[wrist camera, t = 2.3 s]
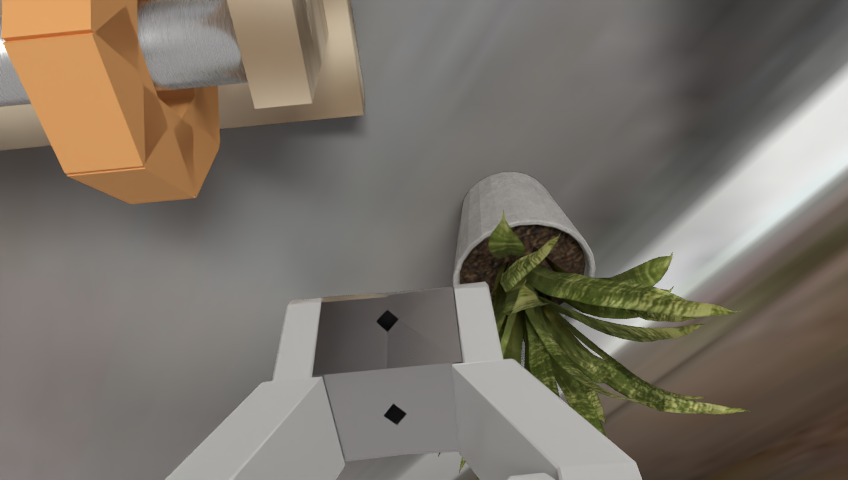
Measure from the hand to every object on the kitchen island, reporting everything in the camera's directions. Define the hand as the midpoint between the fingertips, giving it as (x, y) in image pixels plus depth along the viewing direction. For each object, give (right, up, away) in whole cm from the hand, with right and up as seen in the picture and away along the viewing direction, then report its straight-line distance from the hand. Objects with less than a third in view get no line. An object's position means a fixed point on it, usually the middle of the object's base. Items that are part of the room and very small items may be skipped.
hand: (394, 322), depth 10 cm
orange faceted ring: (-10, +11, +16) cm, 22 cm away
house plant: (+5, +2, +28) cm, 28 cm away
